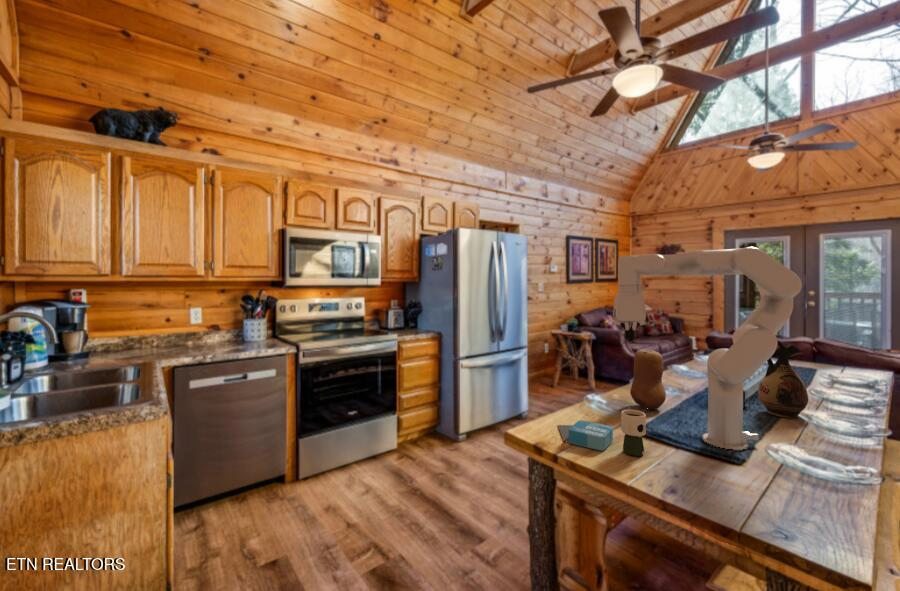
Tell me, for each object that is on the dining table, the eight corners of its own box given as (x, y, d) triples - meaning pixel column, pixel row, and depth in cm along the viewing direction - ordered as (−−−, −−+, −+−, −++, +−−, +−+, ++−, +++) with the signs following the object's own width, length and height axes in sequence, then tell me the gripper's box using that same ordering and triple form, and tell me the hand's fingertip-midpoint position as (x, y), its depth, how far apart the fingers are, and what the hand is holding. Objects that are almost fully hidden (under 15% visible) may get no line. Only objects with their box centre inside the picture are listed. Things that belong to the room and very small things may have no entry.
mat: (590, 426, 150) (590, 425, 150) (600, 443, 135) (600, 441, 135) (557, 425, 152) (557, 424, 152) (563, 441, 137) (563, 440, 137)
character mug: (638, 462, 121) (638, 420, 120) (614, 455, 126) (614, 414, 125) (651, 451, 128) (651, 411, 128) (629, 445, 133) (629, 406, 133)
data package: (614, 426, 137) (603, 437, 128) (614, 439, 137) (603, 451, 128) (579, 419, 144) (567, 429, 135) (579, 431, 145) (567, 442, 135)
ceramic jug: (803, 412, 163) (804, 338, 162) (811, 423, 150) (813, 344, 149) (751, 405, 172) (752, 336, 171) (755, 416, 159) (756, 341, 158)
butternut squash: (672, 409, 169) (672, 350, 168) (655, 415, 161) (655, 354, 160) (640, 401, 180) (641, 346, 180) (623, 406, 173) (623, 349, 172)
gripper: (647, 289, 146) (647, 339, 147) (605, 290, 148) (605, 339, 149) (655, 290, 139) (655, 342, 139) (610, 290, 140) (610, 342, 141)
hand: (629, 340), depth 144 cm, fingers closed
